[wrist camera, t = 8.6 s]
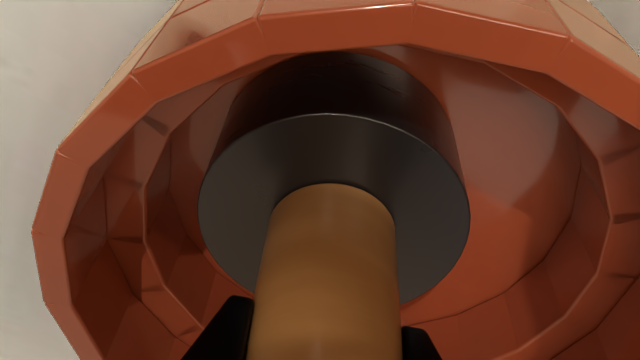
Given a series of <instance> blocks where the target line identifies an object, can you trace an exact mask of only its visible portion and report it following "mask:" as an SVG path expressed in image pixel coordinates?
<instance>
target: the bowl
mask: <svg viewBox="0 0 640 360" xmlns="http://www.w3.org/2000/svg"><path fill="white" fill-rule="evenodd" d="M327 52H343V53H354V54H360V55H366V56H370V57H373V58H377V59H380V60H383V61H386V62H388V63H390V64H393V65H395V66H397V67H399V68H401V69H403V70H404V71H406V72H408V73H409V74H411V75H413V76H414V77H415V78H416V79H418V80H419V81H420V82H421V83H423V84H424V85H425V86H426V87H427V88H428V89H429V90H430V91H431V92H432V93H433V94H434V95H435V96H436V98H437V99H438V101H439V102H440V104H441V105H442V106H443V108H444V110H445V112H446V114H447V116H448V118H449V120H450V123H451V126H452V129H453V132H454V136H455V141H456V145H457V150H458V154H459V159H460V163H461V168H462V172H463V177H464V181H465V186H466V190H467V195H468V199H469V205H470V213H471V221H470V231H469V236H468V240H467V243H466V245H465V248H464V250H463V252H462V255H461V257H460V258H459V260H458V261H457V263H456V264H455V266H454V267H453V269H452V270H451V271H450V272H449V273H448V274H447V275H446V277H445V278H444V279H442V280H441V281H440V282H439V283H438V284H437V285H436V286H434V287H433V288H431V289H430V290H429V291H427V292H426V293H424V294H423V295H421V296H419V297H417V298H415V299H413V300H411V301H409V302H407V303H404V304H402V305H400V318H401V327H403V326H410V327H416V328H421V329H424V330H425V331H426V332H427V333H428V335H429V337H430V338H431V340H432V342H433V344H434V346H435V347H436V349H437V351H438V353H439V354H440V356H441V358H442V360H640V57H639V56H638V55H637V54H636V53H635V52H634V51H633V49H632V48H631V47H630V46H629V45H628V44H627V42H626V41H625V40H624V39H623V38H622V37H621V36H620V35H619V33H618V32H617V31H616V30H615V29H614V28H613V27H612V26H611V24H610V23H609V22H608V21H607V20H606V19H605V18H604V16H603V15H602V14H601V13H600V12H599V11H598V10H597V9H596V8H595V7H594V6H593V4H592V3H590V2H589V1H587V0H178V1H177V2H176V3H175V4H174V5H173V7H172V8H171V9H170V10H169V11H168V12H167V13H166V14H165V15H164V16H163V17H162V18H161V19H160V20H159V21H158V23H157V24H156V25H155V26H154V27H153V28H152V29H151V30H150V31H149V32H148V33H147V34H146V35H145V36H144V37H143V39H142V40H141V41H140V42H139V43H138V44H137V45H136V46H135V48H134V49H133V50H132V51H131V53H130V54H129V55H128V57H127V58H126V59H125V60H124V62H123V63H122V64H121V66H120V67H119V68H118V69H117V71H116V72H115V73H114V75H113V76H112V77H111V78H110V80H109V81H108V82H107V84H106V85H105V86H104V88H103V89H102V90H101V91H100V93H99V94H98V95H97V97H96V98H95V99H94V100H93V102H92V103H91V104H90V106H89V107H88V108H87V109H86V111H85V112H84V113H83V115H82V116H81V117H80V118H79V120H78V121H77V122H76V124H75V125H74V126H73V127H72V129H71V130H70V131H69V133H68V134H67V135H66V136H65V138H64V139H63V140H62V142H61V143H60V144H59V145H58V148H57V149H56V151H55V153H54V157H53V160H52V163H51V166H50V170H49V173H48V176H47V179H46V182H45V186H44V189H43V192H42V195H41V199H40V202H39V205H38V208H37V211H36V215H35V218H34V221H33V224H32V231H31V234H32V240H33V245H34V251H35V257H36V262H37V268H38V273H39V279H40V285H41V290H42V296H43V301H44V302H45V305H46V307H47V308H48V310H49V311H50V313H51V315H52V316H53V318H54V319H55V321H56V322H57V324H58V325H59V327H60V329H61V330H62V332H63V333H64V335H65V336H66V338H67V340H68V341H69V343H70V344H71V346H72V347H73V349H74V350H75V352H76V354H77V355H78V357H79V358H80V360H181V358H182V357H183V356H184V354H185V353H186V352H187V351H188V349H189V348H190V347H191V345H192V344H193V343H194V342H195V340H196V339H197V338H198V336H199V335H200V334H201V333H202V331H203V330H204V329H205V327H206V326H207V325H208V323H209V322H210V321H211V320H212V318H213V317H214V316H215V314H216V313H217V312H218V311H219V309H220V308H221V307H222V305H223V304H224V303H225V301H226V300H227V299H228V298H229V297H230V296H232V295H238V296H243V297H249V298H252V299H253V297H254V294H253V293H251V292H250V291H248V290H247V289H245V288H244V287H242V286H241V285H239V284H238V283H237V282H236V281H234V280H233V279H232V278H231V277H230V276H229V275H227V273H226V272H225V271H224V270H223V269H222V268H221V267H220V266H219V265H218V264H217V262H216V261H215V260H214V258H213V257H212V255H211V254H210V252H209V250H208V248H207V247H206V245H205V243H204V240H203V238H202V235H201V232H200V229H199V223H198V217H197V200H198V195H199V189H200V186H201V184H202V181H203V178H204V176H205V173H206V170H207V168H208V165H209V162H210V160H211V157H212V154H213V152H214V149H215V146H216V144H217V141H218V138H219V136H220V133H221V130H222V128H223V125H224V122H225V120H226V117H227V114H228V112H229V110H230V108H231V106H232V105H233V103H234V101H235V99H236V98H237V97H238V96H239V94H240V93H241V92H242V91H243V89H244V88H245V87H246V86H248V85H249V84H250V83H251V82H252V81H253V80H254V79H255V78H257V77H258V76H260V75H261V74H262V73H264V72H265V71H267V70H268V69H270V68H272V67H274V66H276V65H278V64H280V63H282V62H285V61H288V60H291V59H294V58H297V57H301V56H305V55H310V54H315V53H327Z"/></svg>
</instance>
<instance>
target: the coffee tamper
mask: <svg viewBox="0 0 640 360" xmlns="http://www.w3.org/2000/svg"><path fill="white" fill-rule="evenodd" d="M197 217H198V223H199V229H200V232H201V235H202V238H203V240H204V243H205V245H206V247H207V248H208V250H209V252H210V254H211V255H212V257H213V258H214V260H215V261H216V262H217V264H218V265H219V266H220V267H221V268H222V269H223V270H224V271H225V272H226V273H227V275H229V276H230V277H231V278H232V279H233V280H234V281H236V282H237V283H238V284H239V285H241V286H242V287H244V288H245V289H247V290H248V291H250V292H251V293H253V294H254V297H253V301H254V305H253V310H252V315H251V320H250V325H249V330H248V335H247V340H246V345H245V350H244V355H243V360H403V352H402V335H401V318H400V305H402V304H404V303H407V302H409V301H411V300H413V299H415V298H417V297H419V296H421V295H423V294H424V293H426V292H427V291H429V290H430V289H431V288H433V287H434V286H436V285H437V284H438V283H439V282H440V281H441V280H442V279H444V278H445V277H446V275H447V274H448V273H449V272H450V271H451V270H452V269H453V267H454V266H455V264H456V263H457V261H458V260H459V258H460V257H461V255H462V252H463V250H464V248H465V245H466V243H467V240H468V236H469V231H470V221H471V213H470V205H469V199H468V195H467V190H466V186H465V181H464V177H463V172H462V168H461V163H460V159H459V154H458V150H457V145H456V141H455V136H454V132H453V129H452V126H451V123H450V120H449V118H448V116H447V114H446V112H445V110H444V108H443V106H442V105H441V104H440V102H439V101H438V99H437V98H436V96H435V95H434V94H433V93H432V92H431V91H430V90H429V89H428V88H427V87H426V86H425V85H424V84H423V83H421V82H420V81H419V80H418V79H416V78H415V77H414V76H413V75H411V74H409V73H408V72H406V71H404V70H403V69H401V68H399V67H397V66H395V65H393V64H390V63H388V62H386V61H383V60H380V59H377V58H373V57H370V56H366V55H360V54H354V53H343V52H327V53H315V54H310V55H305V56H301V57H297V58H294V59H291V60H288V61H285V62H282V63H280V64H278V65H276V66H274V67H272V68H270V69H268V70H267V71H265V72H264V73H262V74H261V75H260V76H258V77H257V78H255V79H254V80H253V81H252V82H251V83H250V84H249V85H248V86H246V87H245V88H244V89H243V91H242V92H241V93H240V94H239V96H238V97H237V98H236V99H235V101H234V103H233V105H232V106H231V108H230V110H229V112H228V114H227V117H226V120H225V122H224V125H223V128H222V130H221V133H220V136H219V138H218V141H217V144H216V146H215V149H214V152H213V154H212V157H211V160H210V162H209V165H208V168H207V170H206V173H205V176H204V178H203V181H202V184H201V186H200V189H199V195H198V200H197Z"/></svg>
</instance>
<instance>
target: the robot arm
mask: <svg viewBox="0 0 640 360" xmlns="http://www.w3.org/2000/svg"><path fill="white" fill-rule="evenodd" d="M253 305H254V301H253V299H252V298H249V297H243V296H238V295H232V296H230V297H229V298H228V299H227V300H226V301H225V303H224V304H223V305H222V307H221V308H220V309H219V311H218V312H217V313H216V314H215V316H214V317H213V318H212V320H211V321H210V322H209V323H208V325H207V326H206V327H205V329H204V330H203V331H202V333H201V334H200V335H199V336H198V338H197V339H196V340H195V342H194V343H193V344H192V345H191V347H190V348H189V349H188V351H187V352H186V353H185V354H184V356H183V357H182V358H181V360H243V355H244V350H245V345H246V340H247V335H248V330H249V325H250V320H251V315H252V310H253ZM401 335H402V352H403V360H442V358H441V356H440V354H439V353H438V351H437V349H436V347H435V346H434V344H433V342H432V340H431V338H430V337H429V335H428V333H427V332H426V331H425V330H424V329H421V328H416V327H410V326H403V327H401Z"/></svg>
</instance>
